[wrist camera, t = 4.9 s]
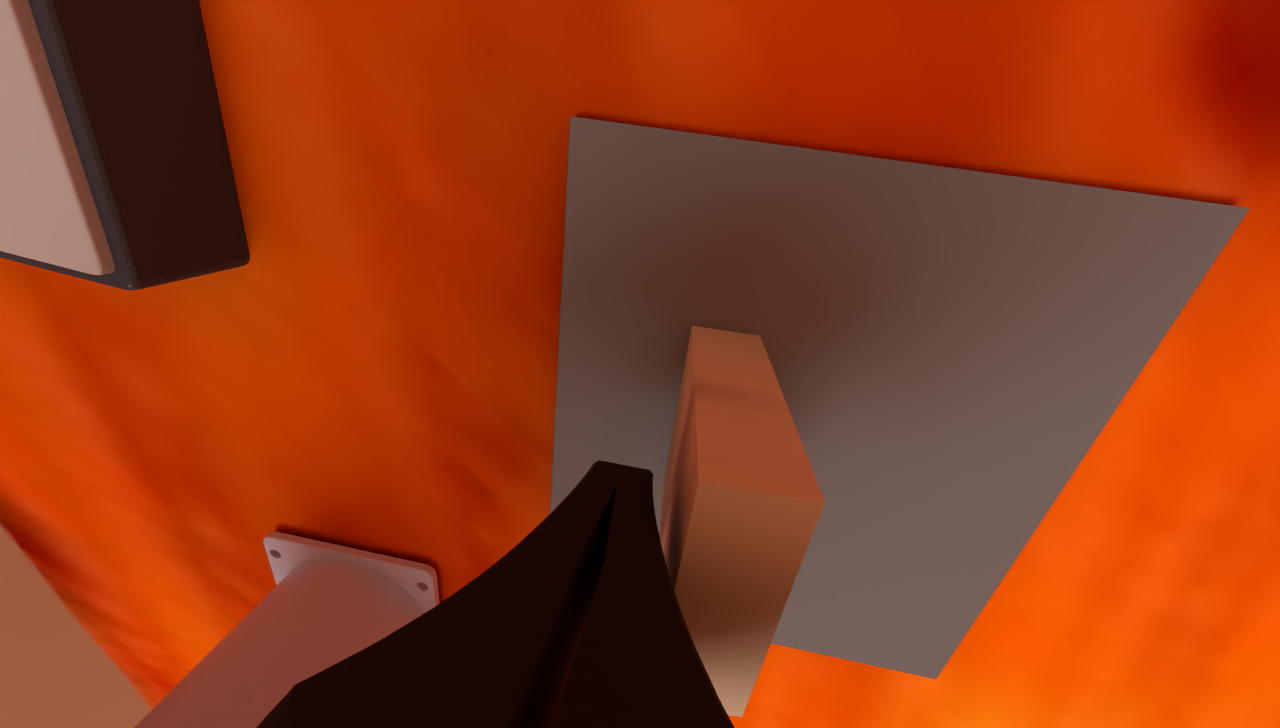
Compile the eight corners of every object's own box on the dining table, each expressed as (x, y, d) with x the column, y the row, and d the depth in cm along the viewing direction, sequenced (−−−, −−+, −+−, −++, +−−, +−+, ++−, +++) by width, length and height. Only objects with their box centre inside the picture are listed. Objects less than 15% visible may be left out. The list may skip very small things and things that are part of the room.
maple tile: (719, 493, 16) (741, 717, 10) (662, 485, 16) (648, 701, 10) (760, 335, 14) (825, 502, 7) (691, 325, 14) (698, 482, 7)
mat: (931, 668, 19) (935, 679, 18) (549, 585, 20) (545, 593, 20) (1232, 205, 11) (1249, 207, 11) (574, 117, 12) (570, 116, 12)
